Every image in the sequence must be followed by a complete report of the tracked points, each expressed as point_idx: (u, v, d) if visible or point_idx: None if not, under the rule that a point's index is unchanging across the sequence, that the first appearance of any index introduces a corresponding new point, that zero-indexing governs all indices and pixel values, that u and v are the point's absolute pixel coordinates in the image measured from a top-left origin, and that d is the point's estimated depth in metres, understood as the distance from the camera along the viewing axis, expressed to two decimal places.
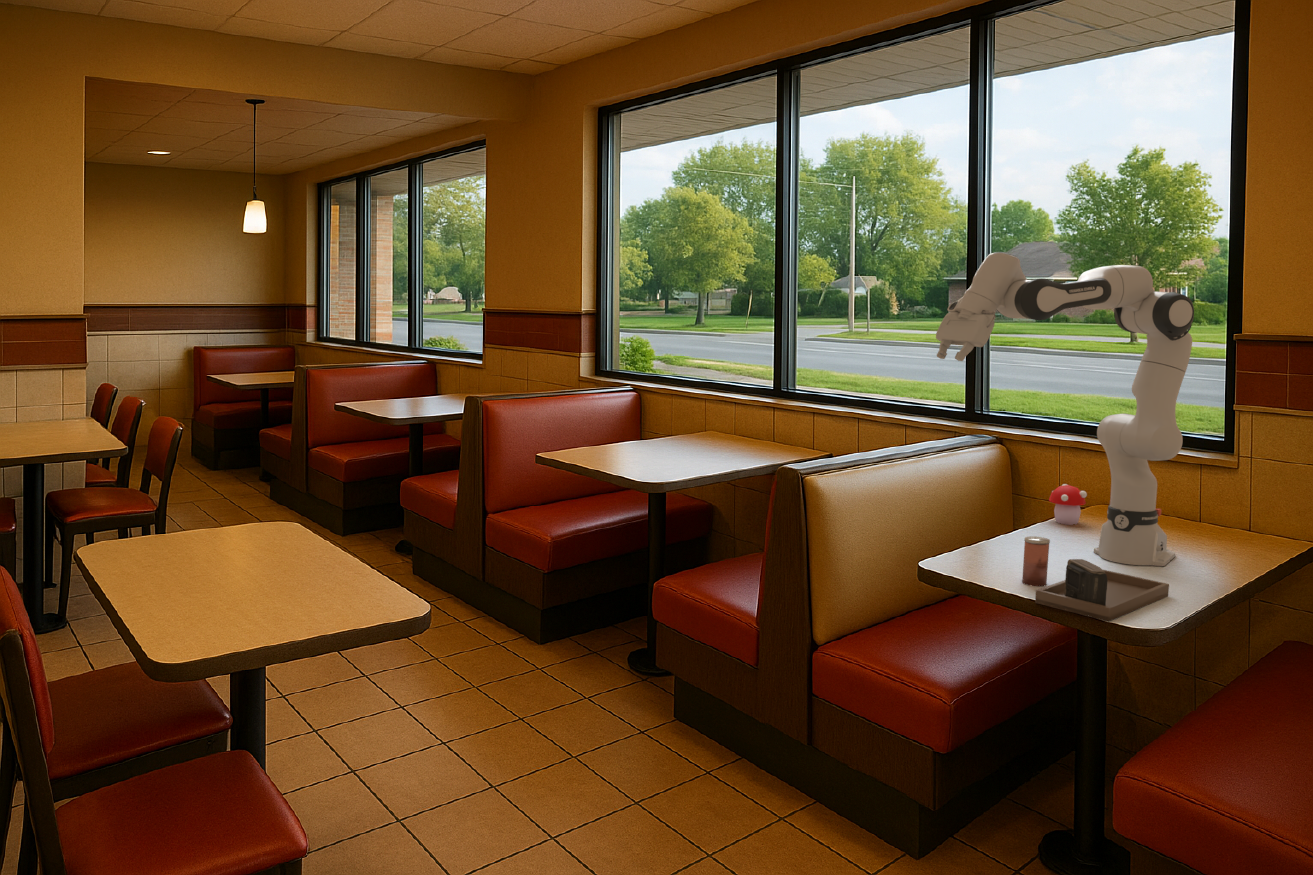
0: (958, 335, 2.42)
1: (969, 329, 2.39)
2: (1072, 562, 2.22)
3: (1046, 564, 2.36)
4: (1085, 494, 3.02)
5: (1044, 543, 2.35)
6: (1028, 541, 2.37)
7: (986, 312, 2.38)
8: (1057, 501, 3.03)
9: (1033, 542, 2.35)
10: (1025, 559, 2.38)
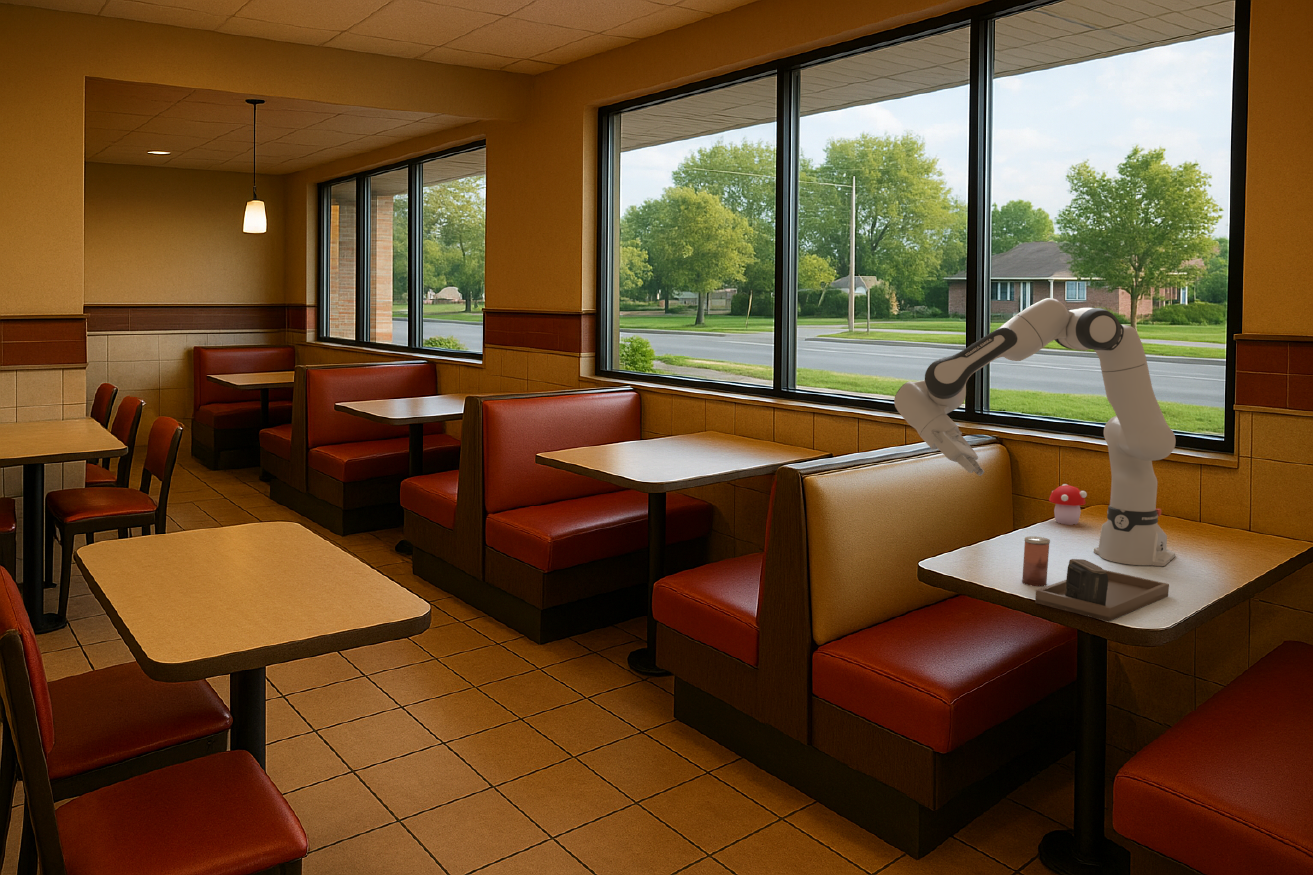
0: None
1: None
2: (1073, 562, 2.23)
3: (1046, 564, 2.36)
4: (1085, 494, 3.02)
5: (1044, 543, 2.35)
6: (1028, 541, 2.37)
7: None
8: (1057, 501, 3.03)
9: (1033, 542, 2.35)
10: (1025, 559, 2.38)
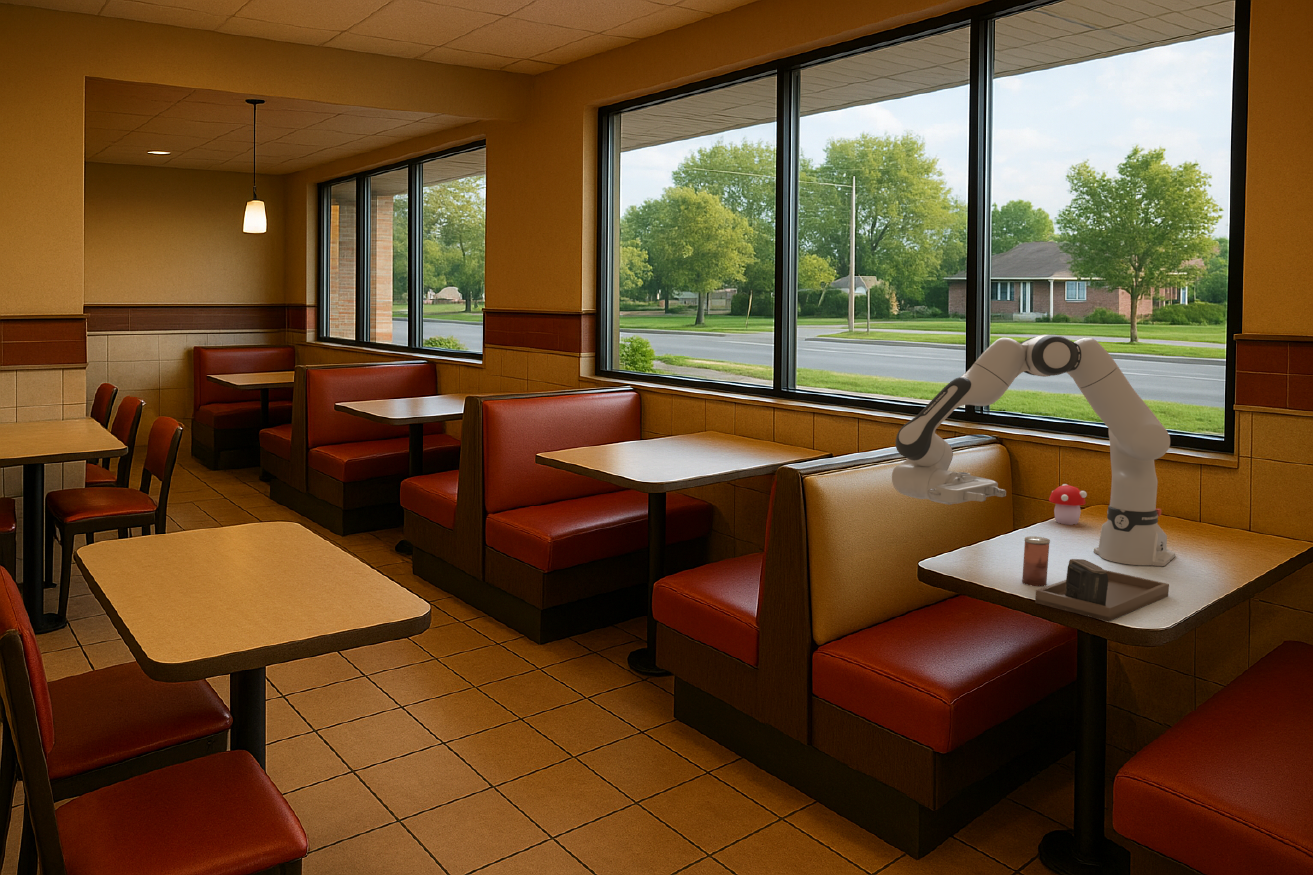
0: None
1: None
2: (1073, 562, 2.23)
3: (1046, 564, 2.36)
4: (1085, 494, 3.02)
5: (1044, 543, 2.35)
6: (1028, 541, 2.37)
7: None
8: (1057, 501, 3.03)
9: (1033, 542, 2.35)
10: (1025, 559, 2.38)
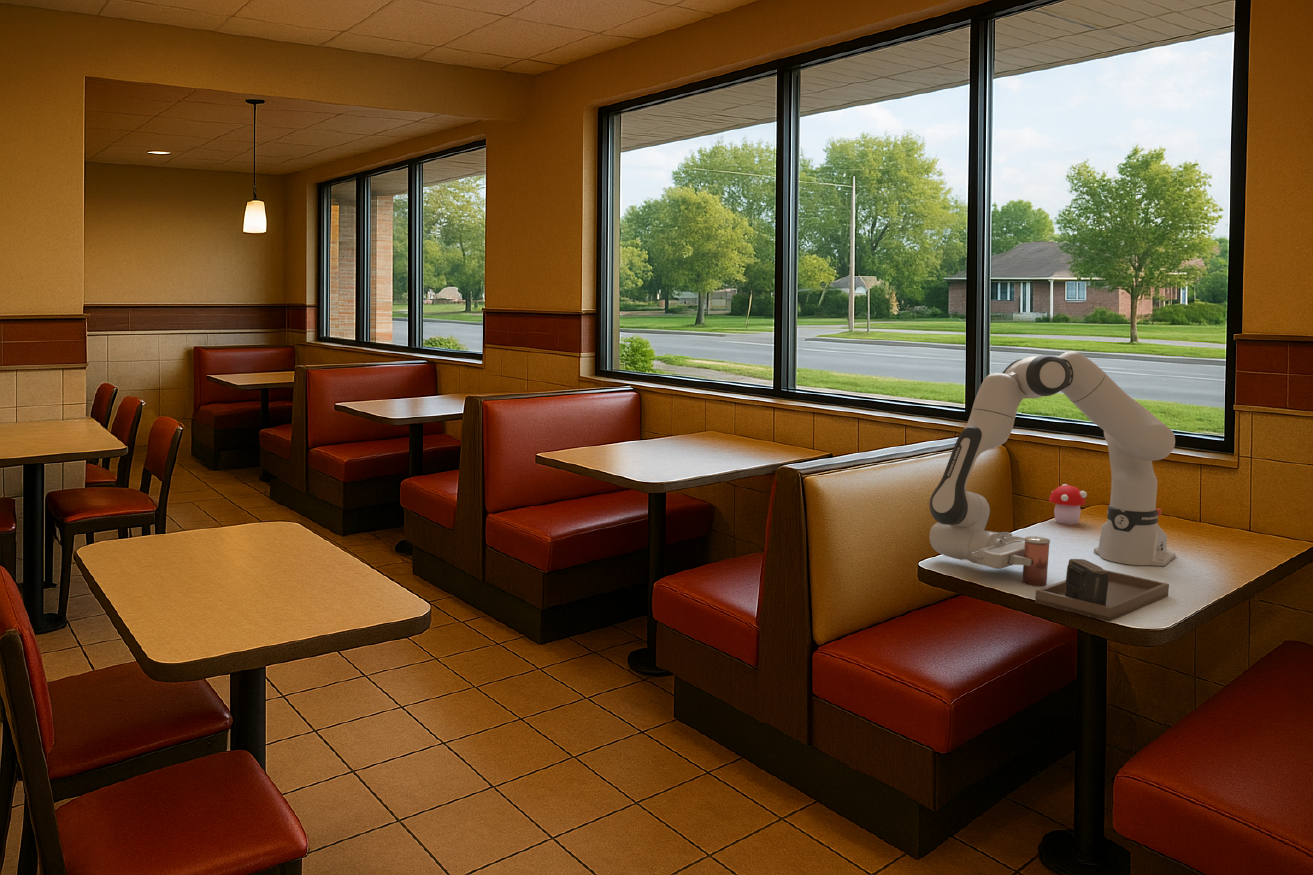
0: None
1: None
2: (1073, 561, 2.23)
3: (1046, 564, 2.36)
4: (1085, 494, 3.02)
5: (1044, 543, 2.35)
6: (1028, 541, 2.37)
7: None
8: (1057, 501, 3.03)
9: (1033, 542, 2.35)
10: None
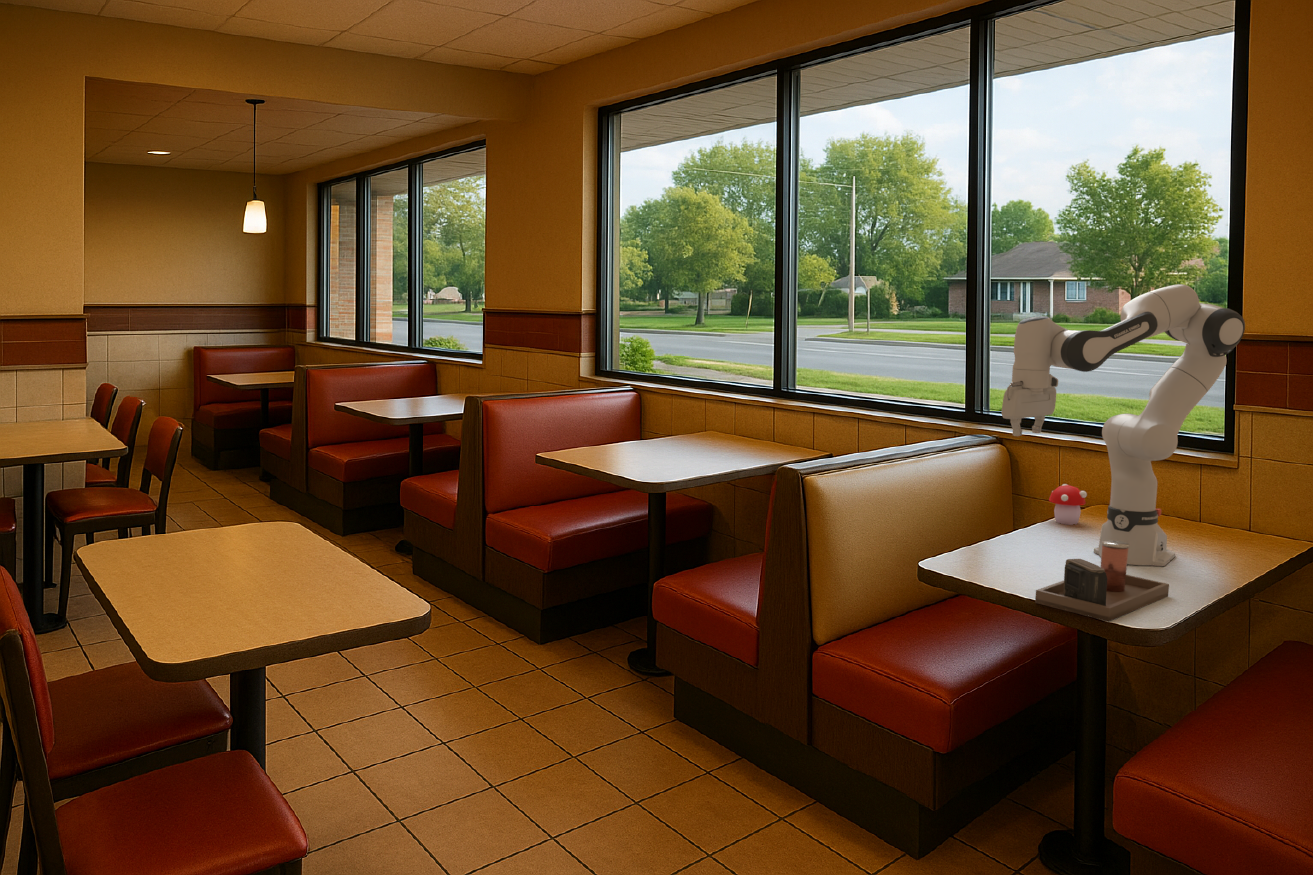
0: None
1: None
2: (1070, 562, 2.23)
3: (1125, 569, 2.29)
4: (1085, 494, 3.02)
5: (1123, 547, 2.27)
6: (1106, 545, 2.29)
7: None
8: (1057, 501, 3.03)
9: (1112, 546, 2.28)
10: (1103, 564, 2.30)
